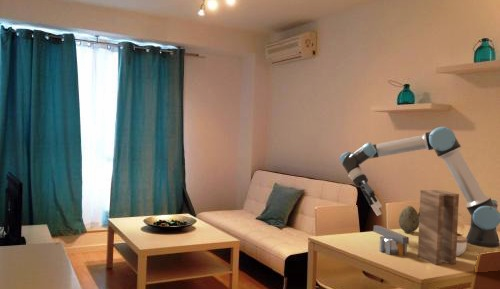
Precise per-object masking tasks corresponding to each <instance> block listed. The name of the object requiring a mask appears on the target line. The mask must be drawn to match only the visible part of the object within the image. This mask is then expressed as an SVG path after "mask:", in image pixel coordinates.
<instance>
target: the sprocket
mask: <svg viewBox="0 0 500 289" xmlns="http://www.w3.org/2000/svg"><path fill="white" fill-rule="evenodd" d="M379 252H381V253H385V255H395V256H403V255H404V256H405V255H407V254H408V253H407V252H408V244H401V243H399V242H396V241H394V240H392V239H389V238H387V237H385V236H382V235H380V237H379Z"/></svg>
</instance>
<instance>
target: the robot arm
mask: <svg viewBox="0 0 500 289" xmlns="http://www.w3.org/2000/svg"><path fill="white" fill-rule="evenodd" d="M461 149H462V146H461V144H460V141H458V139H457V137H456V134H455V133H454V131H453V130H452V129H450V127H449V128H448V127H446V126H439V127H436V128H434V129H433V130H432V131H427V132H424V133H423V134H422V135H417V136H412V137H406V138H401V139H395V140H391V141H385V142H380V143H375V144H372V143H371V142H369V141H368V142H366V143H365V144H363V145H361V146H360V147H359V148H357V149H356V150H354V151H353V152H351V151H346V152H344V153H342V154H341V155H340V157H339V162H340V163H341V165H342V167H343V169H344V170H345V171H346V173H347V174H348V178H349V179H350V180H351V181H352V184H354V186H355V187H356V188H360V190H361V191H362V194H363V196H364V197H365V200H366V201H367V202H368V205H369V206H370V207H371V208H372V210H373V212H374V213H375V215H376V216H377V217H378V216H380V215H383V213H382V211H381V210H380V208H383V205H382V203H381V202H380V201H379V199H378V198H377V196H376V194H375V191H374V190H373V189H372V187H371V186H370V184H368V181H369V179H368V177H367V175H366V174H365V172H364V170H363V169H362V167H361V166H360V165H361V164H363V163H364V162H365V161H367V160H370V159H375V158H380V157H387V156H394V155H398V154H403V153H409V152H415V151H421V150H422V151H423V150H427V151H433V150H434V152H435V153H436V156H437V158H440V159H442V160H443V161H444V163H445V165H446V166H447V168H448V171H449V172H450V174H451V176H452V177H453V179H454V182H455V183H456V186H458V188H459V190H460V192H461V194H462V195H463V197H464V199H465V201H466V206H465V208H466V210H467V211H468V213H469V215H470V226H469V229H468V231H467V235H466V236H465V238H467V244H470V245H474V246H478V247H485V248H498V247H500V239H499V234H498V232H497V231H498V230H497V227H498V226H499V225H500V211H499V210H498V207H499V206H498V200H495V199H492V198H491V197H490V196H488V195H486V194H485V193H484V191H483V189H482V187H481V186H480V184H479V182H478V181H477V179H476V176H474V174H473V172H472V170H471V169H470V166H469V165H468V163H467V161H466V159H465V158H464V156H463V154H462V153H461Z"/></svg>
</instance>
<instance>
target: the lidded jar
mask: <svg viewBox="0 0 500 289" xmlns="http://www.w3.org/2000/svg"><path fill="white" fill-rule="evenodd" d="M467 244H468V242H467V238H466V236H462V235H457V249H456V257H460V256H461V255H462V254H463V253H464V252H465V251H466V249H467Z"/></svg>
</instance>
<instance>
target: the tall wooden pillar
mask: <svg viewBox="0 0 500 289" xmlns="http://www.w3.org/2000/svg"><path fill="white" fill-rule="evenodd" d="M459 199H460V194H459V193H455V192H452V191H451V192H450V191H445V190H440V189H436V190H435V189H428V190H427V189H425V190H423V189H422V190H420V195H419V209H420V214H419V226H418V237H417V238H418V241H417V242H418V243H417V258H419V259H422V260H424V261H426V262H428V263H431V264H433V265H436V266H441V265H442V262H444V263H445V262H446V263H447V264H449V265H456V264H457V256H456V249H457V236H458V227H459V226H458V224H459V223H458V222H459V201H460V200H459Z"/></svg>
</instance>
